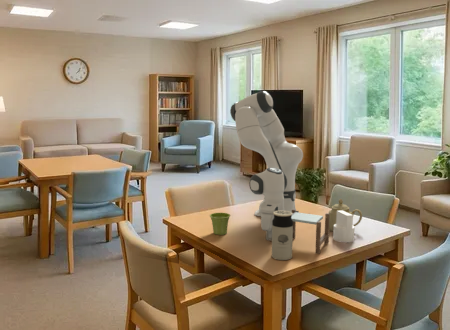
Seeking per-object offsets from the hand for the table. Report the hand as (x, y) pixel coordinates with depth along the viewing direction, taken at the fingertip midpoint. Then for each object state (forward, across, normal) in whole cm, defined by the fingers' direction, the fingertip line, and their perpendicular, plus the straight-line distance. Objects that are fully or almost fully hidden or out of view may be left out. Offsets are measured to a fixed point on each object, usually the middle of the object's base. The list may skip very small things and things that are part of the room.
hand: (273, 235), depth 200 cm
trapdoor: (-9, +2, +13) cm, 16 cm away
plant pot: (+2, +3, -25) cm, 25 cm away
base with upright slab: (+2, -14, +28) cm, 31 cm away
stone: (+2, 0, 0) cm, 2 cm away
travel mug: (+2, +20, +11) cm, 23 cm away
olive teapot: (+2, -29, +25) cm, 38 cm away
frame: (+2, +2, +15) cm, 15 cm away
